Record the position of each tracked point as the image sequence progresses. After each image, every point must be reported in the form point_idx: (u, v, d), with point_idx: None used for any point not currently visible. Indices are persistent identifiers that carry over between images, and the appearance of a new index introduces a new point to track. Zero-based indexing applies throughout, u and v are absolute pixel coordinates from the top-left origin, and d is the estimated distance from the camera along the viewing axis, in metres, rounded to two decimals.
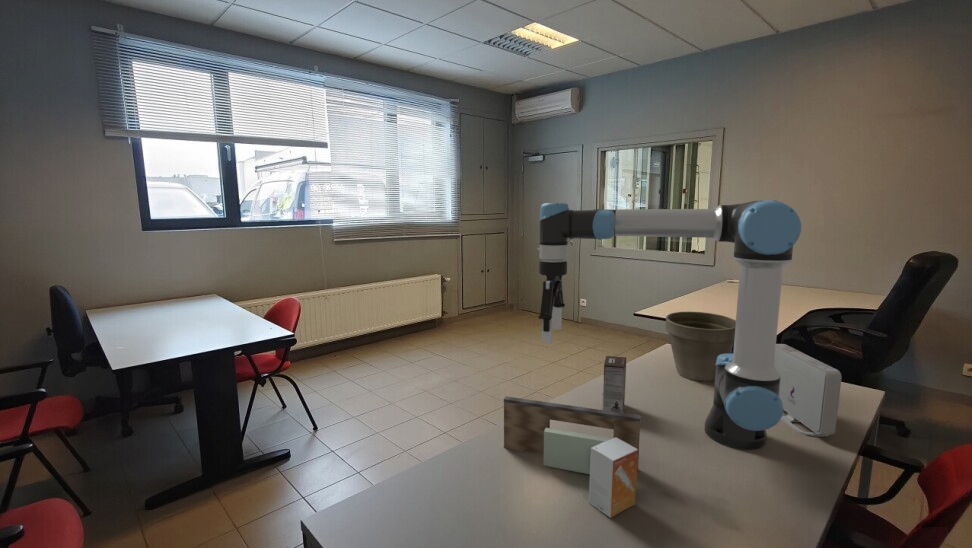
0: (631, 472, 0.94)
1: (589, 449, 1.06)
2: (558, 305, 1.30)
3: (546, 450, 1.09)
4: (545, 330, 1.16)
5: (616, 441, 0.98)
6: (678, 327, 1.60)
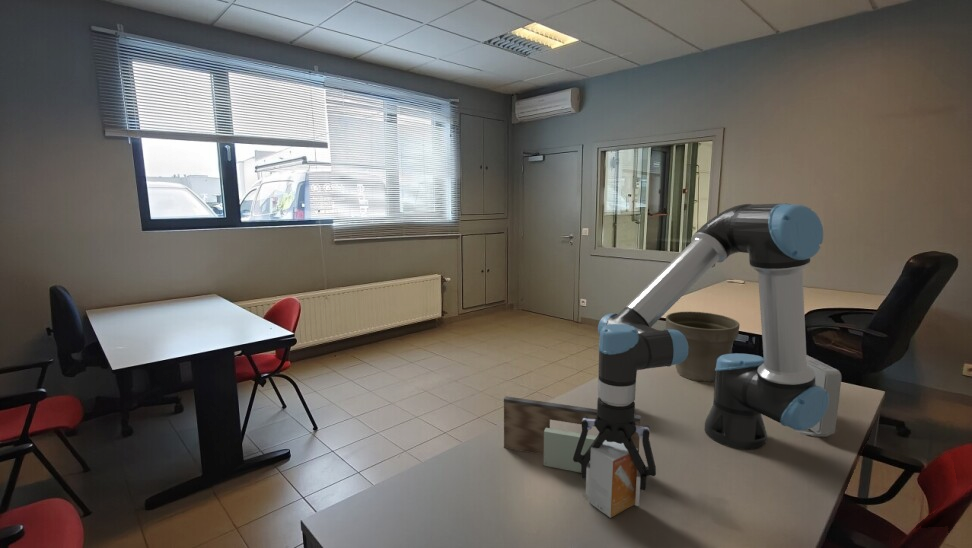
0: (631, 472, 0.94)
1: None
2: None
3: (546, 450, 1.09)
4: None
5: None
6: (678, 327, 1.60)
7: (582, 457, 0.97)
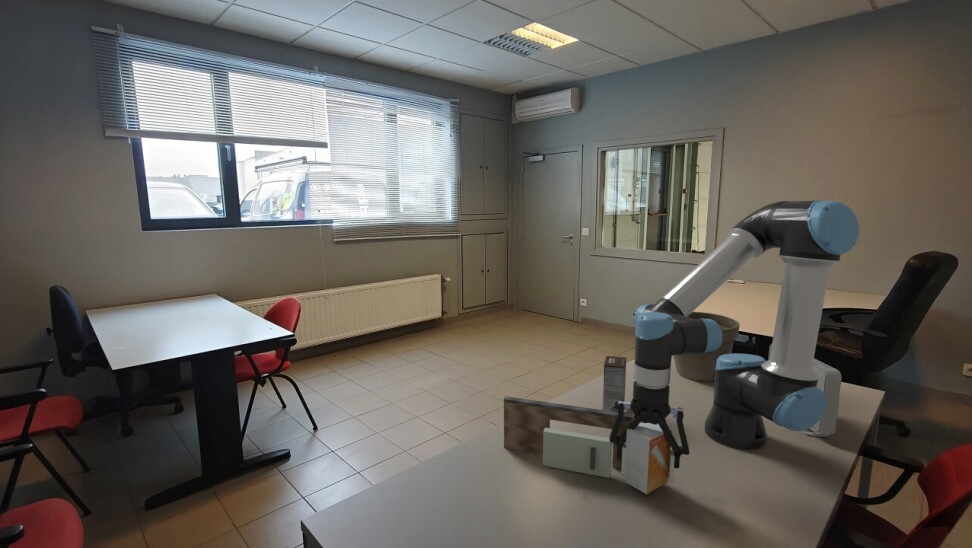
0: (665, 451, 1.00)
1: (588, 449, 1.06)
2: (674, 451, 0.99)
3: (545, 450, 1.10)
4: (617, 455, 1.04)
5: (649, 423, 1.03)
6: None
7: (618, 438, 1.03)
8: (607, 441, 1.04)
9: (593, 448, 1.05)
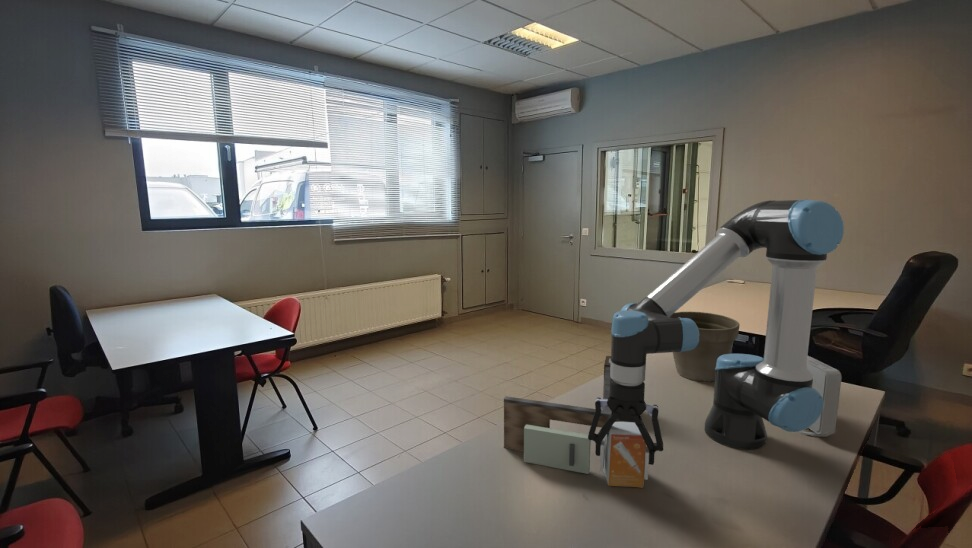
0: (636, 453, 1.01)
1: (568, 445, 1.07)
2: None
3: (526, 447, 1.11)
4: None
5: (634, 424, 1.05)
6: None
7: (596, 436, 1.05)
8: (586, 437, 1.06)
9: (572, 445, 1.06)
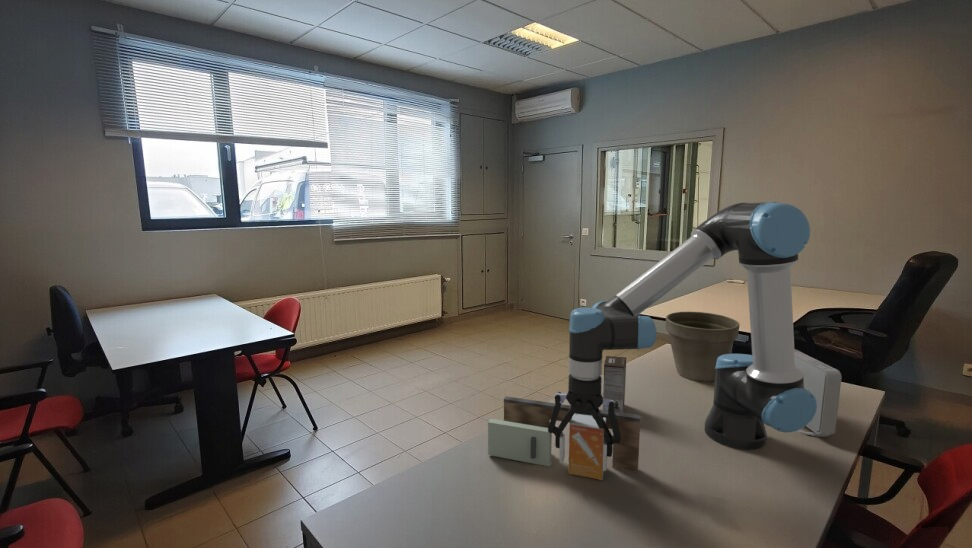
0: (594, 446, 1.04)
1: (529, 439, 1.11)
2: None
3: (490, 440, 1.14)
4: None
5: None
6: (678, 327, 1.60)
7: (556, 428, 1.08)
8: (546, 431, 1.09)
9: (533, 438, 1.10)
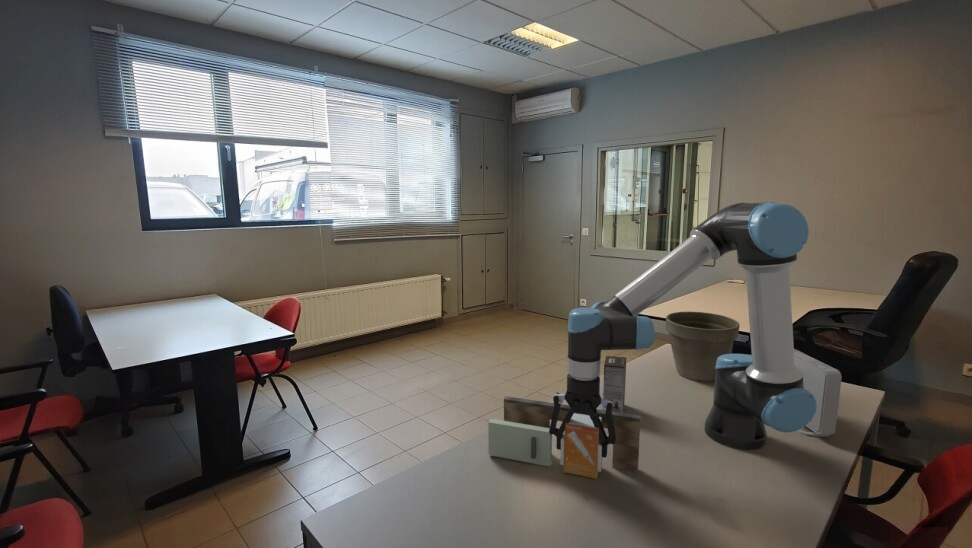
0: (589, 445, 1.05)
1: (530, 439, 1.11)
2: None
3: (490, 440, 1.14)
4: None
5: None
6: (678, 327, 1.60)
7: (557, 430, 1.08)
8: (547, 431, 1.09)
9: (534, 438, 1.10)
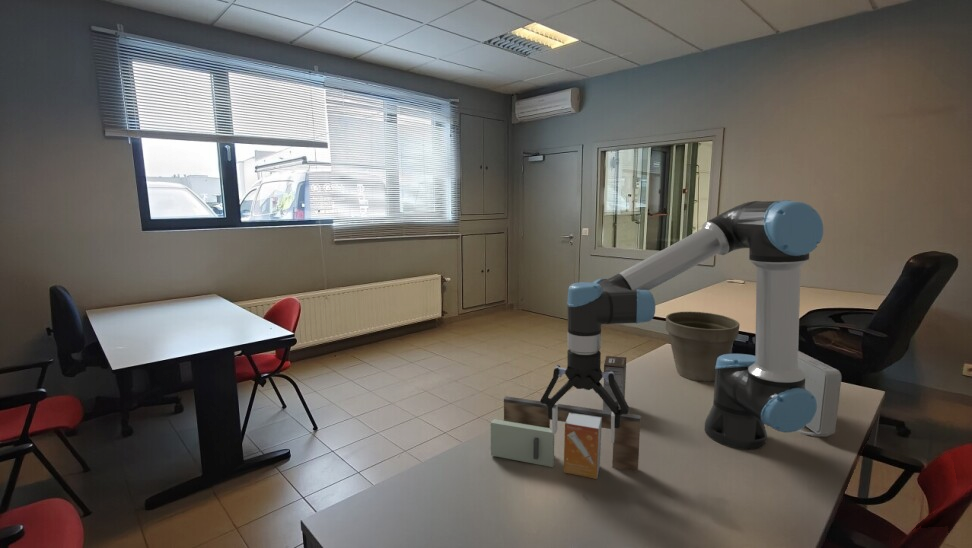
0: (589, 445, 1.05)
1: (532, 439, 1.10)
2: None
3: (493, 441, 1.14)
4: None
5: (595, 418, 1.08)
6: (678, 327, 1.60)
7: (549, 399, 1.08)
8: (549, 431, 1.09)
9: (536, 438, 1.09)
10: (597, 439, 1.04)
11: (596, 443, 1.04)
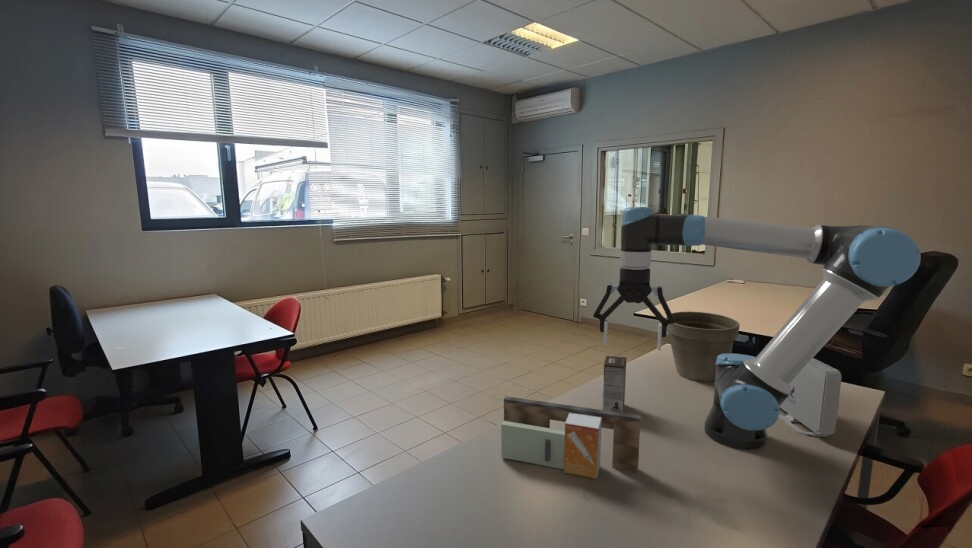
0: (589, 445, 1.05)
1: (544, 441, 1.09)
2: None
3: (503, 443, 1.13)
4: (600, 329, 1.21)
5: (595, 418, 1.08)
6: (678, 327, 1.60)
7: (601, 314, 1.20)
8: (561, 433, 1.08)
9: (548, 440, 1.08)
10: (597, 439, 1.04)
11: (596, 443, 1.04)
